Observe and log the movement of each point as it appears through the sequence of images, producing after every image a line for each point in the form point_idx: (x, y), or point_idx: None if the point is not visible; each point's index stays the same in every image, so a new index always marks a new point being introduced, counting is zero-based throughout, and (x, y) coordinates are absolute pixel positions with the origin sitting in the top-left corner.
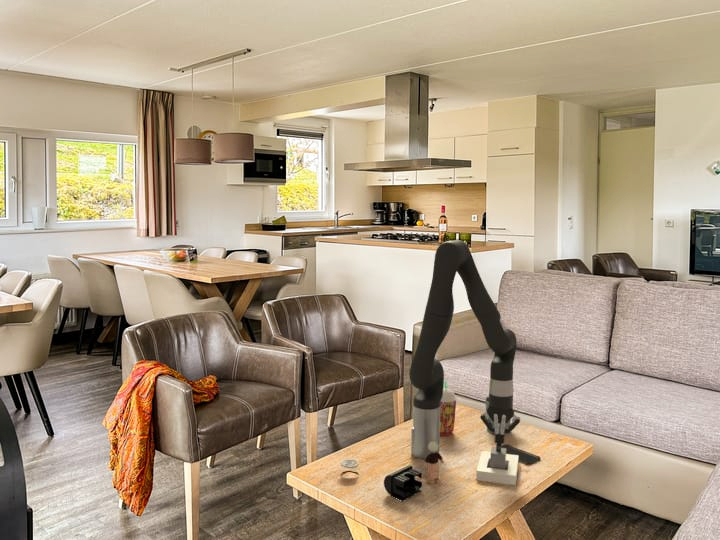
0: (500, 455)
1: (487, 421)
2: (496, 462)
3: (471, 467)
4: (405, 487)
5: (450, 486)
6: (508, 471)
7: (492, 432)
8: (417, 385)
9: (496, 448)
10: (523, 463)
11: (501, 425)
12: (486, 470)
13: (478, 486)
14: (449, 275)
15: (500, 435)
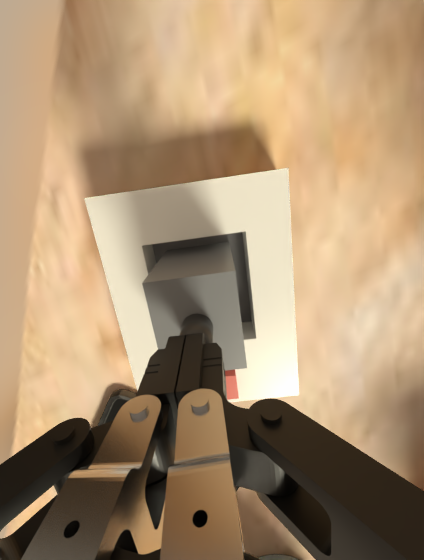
0: (172, 276)
1: (382, 544)
2: (198, 260)
3: (317, 286)
4: None
5: (391, 26)
6: (133, 234)
7: (289, 558)
8: None
9: (208, 326)
10: (134, 394)
11: (108, 499)
12: (238, 195)
13: (254, 101)
14: None
15: (164, 388)
